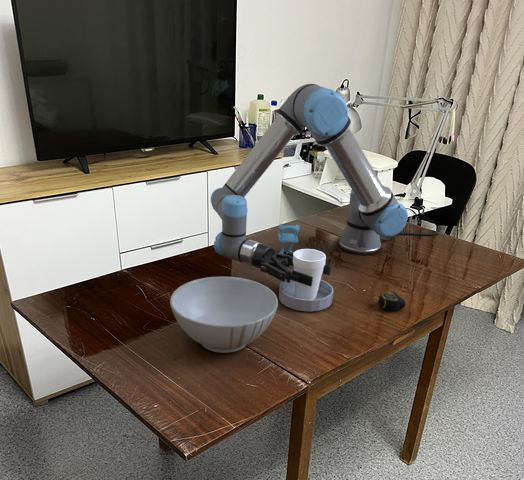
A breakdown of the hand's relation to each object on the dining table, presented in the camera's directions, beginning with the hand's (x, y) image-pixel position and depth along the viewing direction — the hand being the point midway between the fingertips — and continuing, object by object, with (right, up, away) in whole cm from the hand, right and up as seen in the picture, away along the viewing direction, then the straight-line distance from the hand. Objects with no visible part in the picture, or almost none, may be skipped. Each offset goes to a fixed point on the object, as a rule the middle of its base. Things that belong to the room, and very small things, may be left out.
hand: (320, 276), depth 158 cm
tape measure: (+22, -8, +6) cm, 24 cm away
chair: (-8, +12, +35) cm, 38 cm away
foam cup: (-4, -5, +6) cm, 9 cm away
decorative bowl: (-27, -19, -15) cm, 36 cm away
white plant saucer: (-4, -6, +7) cm, 10 cm away
